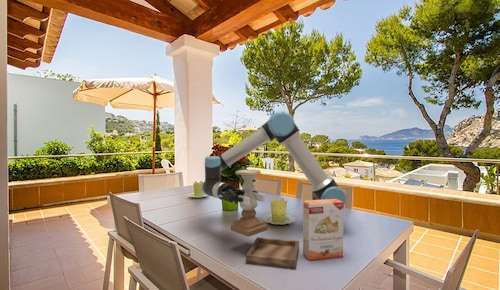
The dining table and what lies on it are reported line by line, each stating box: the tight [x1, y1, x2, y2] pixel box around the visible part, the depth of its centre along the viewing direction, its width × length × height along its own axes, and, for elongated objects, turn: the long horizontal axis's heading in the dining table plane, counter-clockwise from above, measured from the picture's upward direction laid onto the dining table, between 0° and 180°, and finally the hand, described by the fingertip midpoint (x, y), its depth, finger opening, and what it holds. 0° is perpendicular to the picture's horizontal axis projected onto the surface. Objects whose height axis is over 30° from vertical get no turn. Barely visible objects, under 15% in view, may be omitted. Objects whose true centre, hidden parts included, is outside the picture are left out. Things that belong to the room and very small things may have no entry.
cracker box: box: [302, 199, 345, 261], centre depth 96 cm, size 14×6×21 cm, turn 101°
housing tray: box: [245, 236, 300, 270], centre depth 97 cm, size 17×17×3 cm
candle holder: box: [230, 169, 268, 237], centre depth 103 cm, size 11×11×24 cm
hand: (256, 199), depth 99 cm, fingers closed on candle holder, 7 cm apart
